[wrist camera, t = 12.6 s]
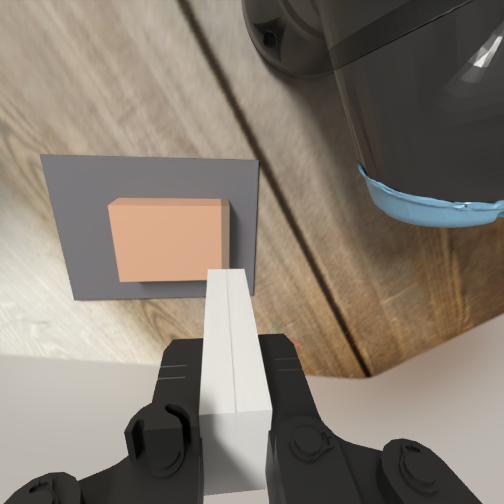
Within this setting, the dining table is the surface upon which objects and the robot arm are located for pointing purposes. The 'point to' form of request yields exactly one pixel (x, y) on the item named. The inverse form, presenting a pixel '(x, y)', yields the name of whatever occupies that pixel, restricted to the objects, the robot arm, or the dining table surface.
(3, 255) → the dining table surface
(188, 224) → the pink rectangular block
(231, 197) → the mat
